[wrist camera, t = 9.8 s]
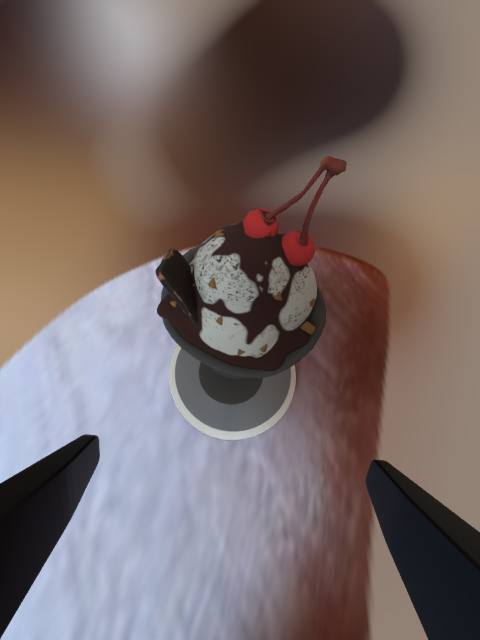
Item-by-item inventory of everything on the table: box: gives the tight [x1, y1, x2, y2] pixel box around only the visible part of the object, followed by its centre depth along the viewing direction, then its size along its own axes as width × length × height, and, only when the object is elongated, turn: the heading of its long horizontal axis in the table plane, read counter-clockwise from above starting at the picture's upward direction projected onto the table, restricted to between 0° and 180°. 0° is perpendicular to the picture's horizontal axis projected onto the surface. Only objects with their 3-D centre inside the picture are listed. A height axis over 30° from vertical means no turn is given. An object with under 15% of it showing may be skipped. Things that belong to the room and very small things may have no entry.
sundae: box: [156, 156, 346, 405], centre depth 12 cm, size 7×7×15 cm
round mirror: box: [169, 345, 296, 441], centre depth 19 cm, size 10×10×2 cm
